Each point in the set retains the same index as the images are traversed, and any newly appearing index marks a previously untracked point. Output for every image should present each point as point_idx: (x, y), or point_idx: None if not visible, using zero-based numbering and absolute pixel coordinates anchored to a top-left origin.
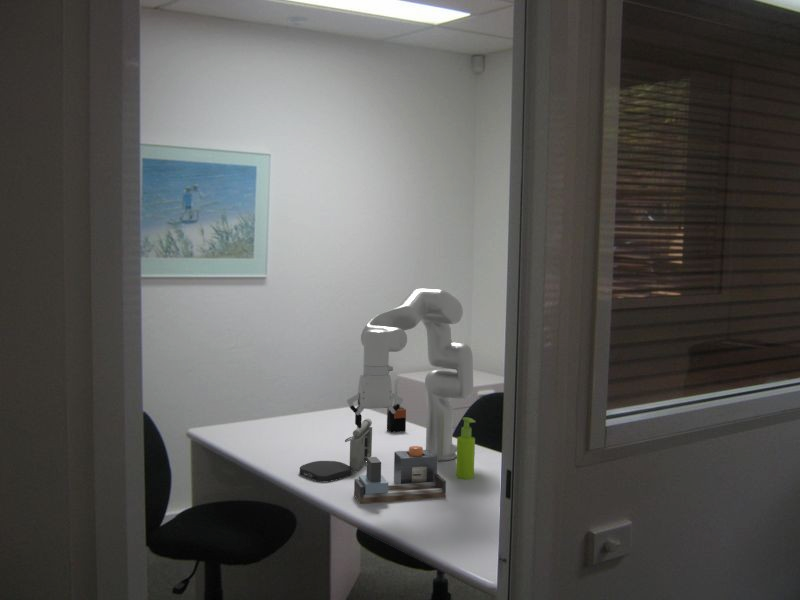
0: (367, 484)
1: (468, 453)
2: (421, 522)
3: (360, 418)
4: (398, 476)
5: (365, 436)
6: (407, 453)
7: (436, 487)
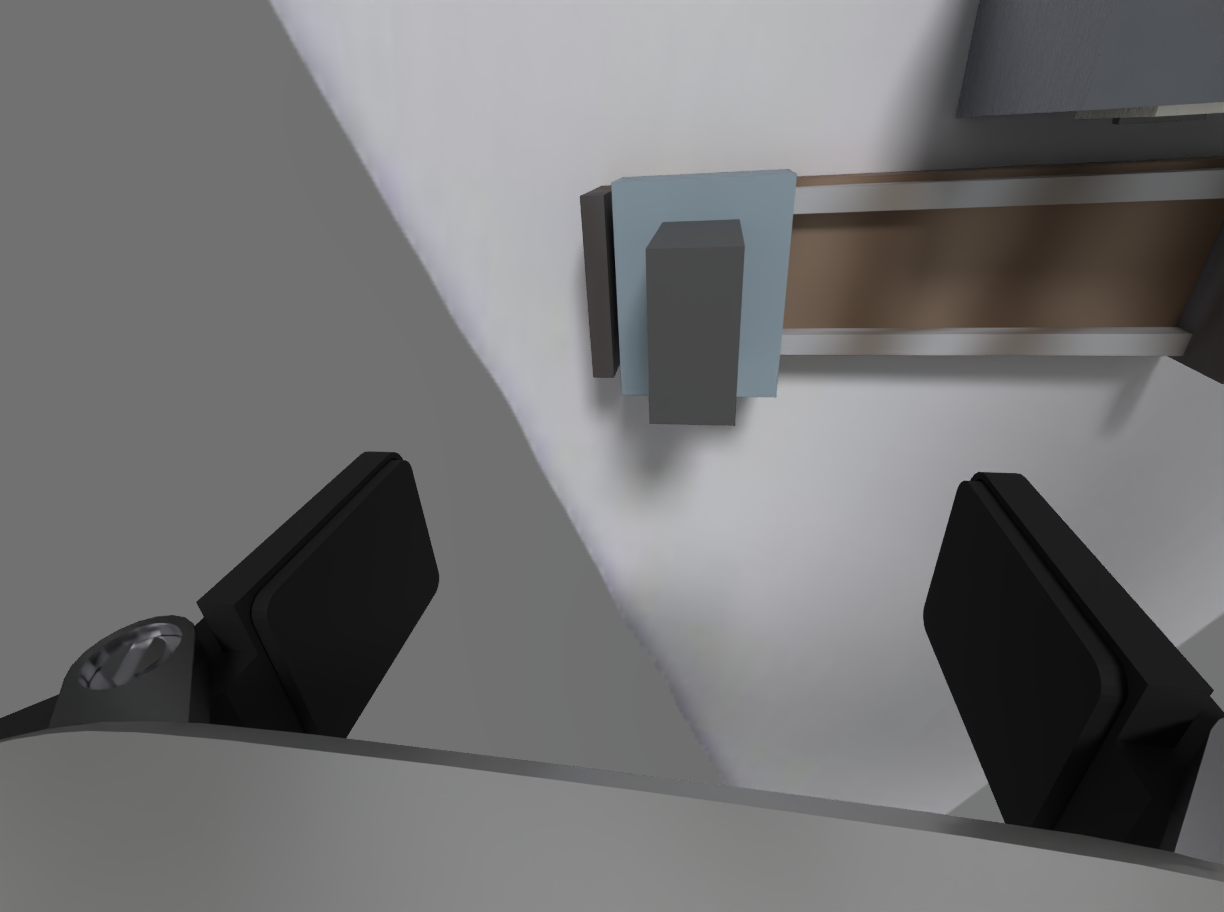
0: (632, 394)
1: None
2: (818, 612)
3: (345, 714)
4: (1008, 23)
5: None
6: None
7: (1209, 236)
